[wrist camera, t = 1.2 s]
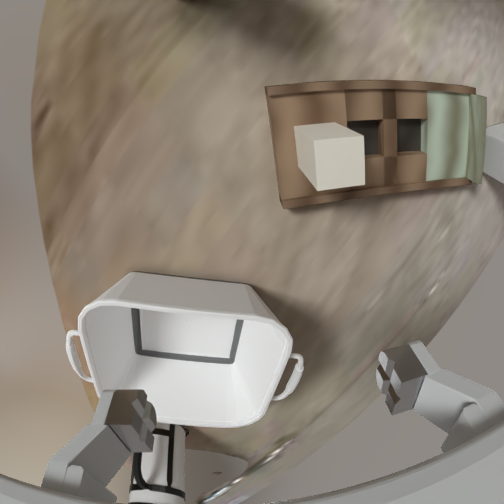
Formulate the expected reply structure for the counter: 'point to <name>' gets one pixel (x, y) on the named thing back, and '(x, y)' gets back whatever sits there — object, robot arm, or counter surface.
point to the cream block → (330, 155)
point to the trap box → (382, 134)
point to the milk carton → (494, 152)
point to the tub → (187, 348)
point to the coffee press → (160, 468)
